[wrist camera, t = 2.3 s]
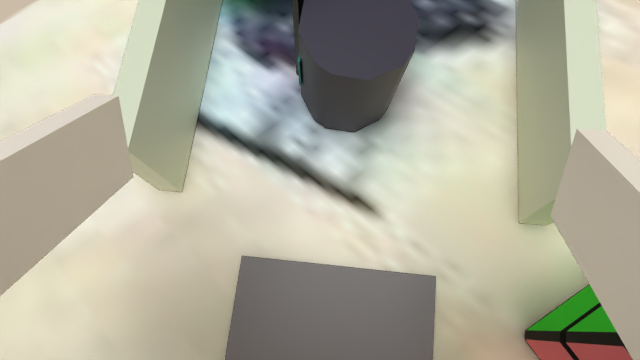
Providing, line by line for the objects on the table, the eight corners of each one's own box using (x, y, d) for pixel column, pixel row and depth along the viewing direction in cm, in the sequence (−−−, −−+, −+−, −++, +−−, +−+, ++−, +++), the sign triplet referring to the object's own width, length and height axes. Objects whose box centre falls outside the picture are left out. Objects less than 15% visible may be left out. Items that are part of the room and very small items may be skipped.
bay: (546, 225, 26) (610, 190, 19) (158, 189, 28) (98, 148, 22) (537, -52, 32) (585, -153, 25) (215, -61, 34) (180, -154, 28)
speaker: (276, 54, 30) (256, -63, 20) (354, 22, 31) (372, -107, 21) (323, 154, 29) (327, 80, 19) (405, 118, 29) (451, 28, 19)
